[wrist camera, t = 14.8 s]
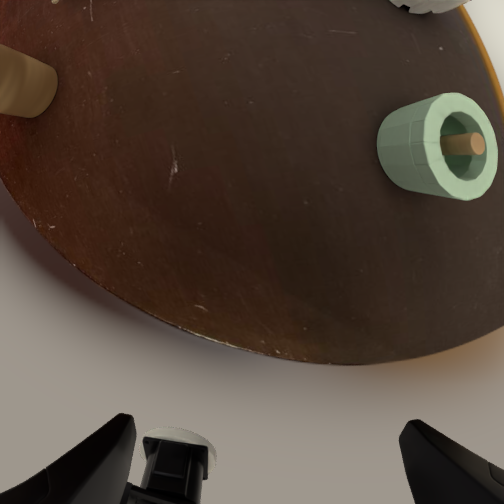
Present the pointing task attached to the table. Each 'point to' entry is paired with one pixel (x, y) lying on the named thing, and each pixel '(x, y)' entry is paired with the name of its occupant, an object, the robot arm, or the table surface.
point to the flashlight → (429, 5)
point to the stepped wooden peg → (462, 144)
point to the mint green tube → (437, 148)
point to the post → (25, 84)
